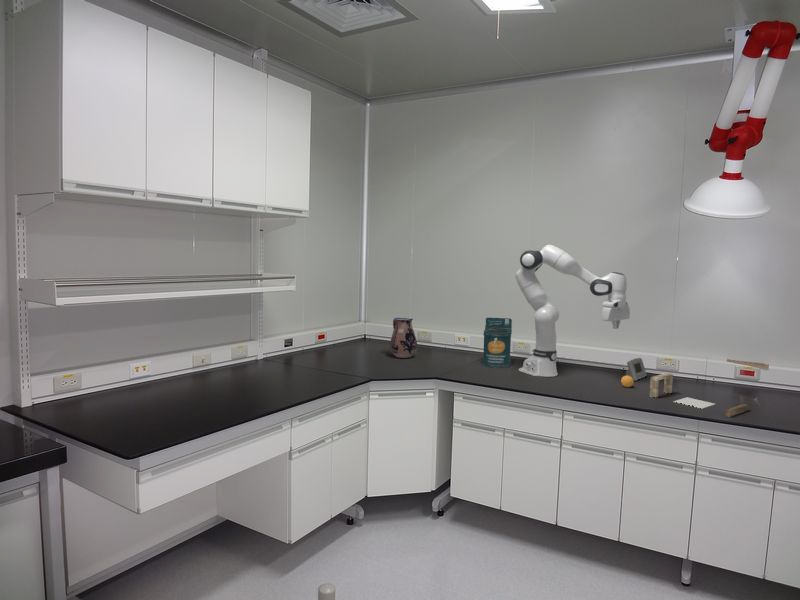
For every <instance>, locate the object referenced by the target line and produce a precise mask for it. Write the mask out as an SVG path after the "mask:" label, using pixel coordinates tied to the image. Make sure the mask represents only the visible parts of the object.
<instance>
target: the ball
mask: <svg viewBox="0 0 800 600" xmlns="http://www.w3.org/2000/svg"><path fill="white" fill-rule="evenodd" d="M634 382H635V381H633V378H632V377H630V376H626V375H623V376H622V377H621V380H620V383H621V385H622V386H623V387H625V388H631V387H632V386H633V385H634Z"/></svg>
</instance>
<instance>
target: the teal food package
mask: <svg viewBox="0 0 800 600" xmlns="http://www.w3.org/2000/svg"><path fill="white" fill-rule="evenodd" d="M512 328H513V319H511V318H507V317H486V318H485V325H484V329H483V355H482V356H483V358H482V366H483V365H484V366H483V367H487V368H493V367H496V369H505V368H504V367H506V368H511V361H512V360H511V349H512V348H511V347H512V345H511V341H512V333H513V332H512Z"/></svg>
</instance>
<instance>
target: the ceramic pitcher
mask: <svg viewBox="0 0 800 600" xmlns="http://www.w3.org/2000/svg"><path fill="white" fill-rule="evenodd" d="M413 320H414V319H413V317H409V318H408V317H394V318H393V320H392V327H393V331H392V333H391V334H392V335H391V338H390V343H389V344H390V345H389V346H390V350H391V352H392V354H393V355H394V356H395V357H396V358H400V359H407V358H411V357H413V356H414V355H415V354H416V351H417V350H418V341H417V337H416V334H415V330H414V328H413V324H412V322H413Z"/></svg>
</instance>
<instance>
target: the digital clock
mask: <svg viewBox="0 0 800 600" xmlns="http://www.w3.org/2000/svg"><path fill="white" fill-rule="evenodd" d="M626 364H627V368H628V369H627V370H626V371H625V376H630V377H632V378H633V381H634V382H636V381H639V380H638V379H640V380H641V378H642V379H644V378H645V376H646V377H647V375H648V374H647V371H646V368H645V365H644V361H643V359H642V357H638V358H637V357H636V358H634V359H630V360H629V361H627V362H626Z"/></svg>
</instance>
